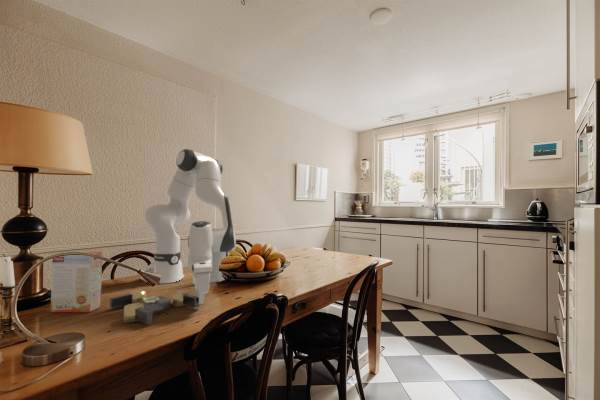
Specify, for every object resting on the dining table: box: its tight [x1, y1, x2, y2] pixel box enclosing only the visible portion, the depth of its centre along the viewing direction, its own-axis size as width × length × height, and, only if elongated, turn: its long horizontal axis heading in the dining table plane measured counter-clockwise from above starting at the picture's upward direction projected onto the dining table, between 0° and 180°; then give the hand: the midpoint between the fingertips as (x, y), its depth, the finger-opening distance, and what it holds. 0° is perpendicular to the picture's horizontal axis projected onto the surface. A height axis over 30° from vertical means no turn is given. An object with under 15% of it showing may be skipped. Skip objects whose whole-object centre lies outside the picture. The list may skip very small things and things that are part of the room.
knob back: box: [109, 288, 147, 309], centre depth 105 cm, size 12×6×4 cm, turn 147°
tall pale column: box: [210, 251, 227, 284], centre depth 141 cm, size 11×4×22 cm, turn 140°
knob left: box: [172, 290, 200, 308], centre depth 105 cm, size 12×6×4 cm, turn 59°
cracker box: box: [50, 251, 103, 313], centre depth 100 cm, size 14×6×21 cm, turn 90°
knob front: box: [123, 303, 154, 325], centre depth 90 cm, size 12×6×4 cm, turn 59°
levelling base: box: [132, 295, 172, 316], centre depth 102 cm, size 13×13×5 cm
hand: (199, 299), depth 107 cm, fingers open, 8 cm apart
